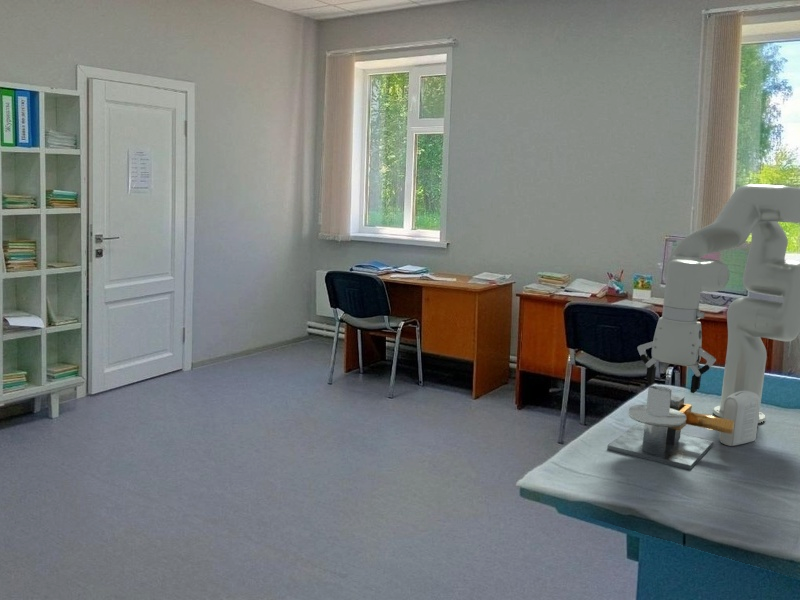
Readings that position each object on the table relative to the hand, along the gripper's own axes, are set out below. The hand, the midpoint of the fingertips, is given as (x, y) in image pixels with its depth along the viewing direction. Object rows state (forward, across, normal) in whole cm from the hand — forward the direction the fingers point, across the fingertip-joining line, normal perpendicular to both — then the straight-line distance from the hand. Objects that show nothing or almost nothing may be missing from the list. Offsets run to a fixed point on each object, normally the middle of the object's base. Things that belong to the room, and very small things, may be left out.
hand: (671, 387), depth 173 cm
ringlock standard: (+13, -2, +5) cm, 14 cm away
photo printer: (+13, -13, -13) cm, 23 cm away
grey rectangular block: (+12, 0, 0) cm, 12 cm away
